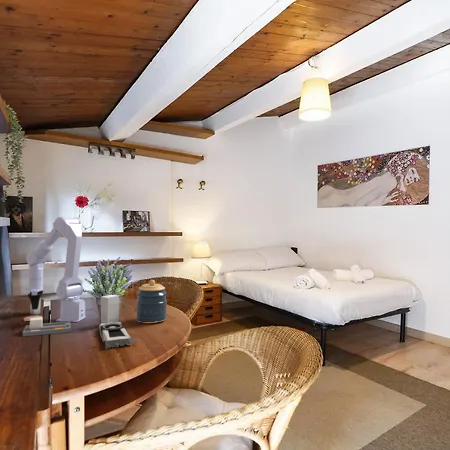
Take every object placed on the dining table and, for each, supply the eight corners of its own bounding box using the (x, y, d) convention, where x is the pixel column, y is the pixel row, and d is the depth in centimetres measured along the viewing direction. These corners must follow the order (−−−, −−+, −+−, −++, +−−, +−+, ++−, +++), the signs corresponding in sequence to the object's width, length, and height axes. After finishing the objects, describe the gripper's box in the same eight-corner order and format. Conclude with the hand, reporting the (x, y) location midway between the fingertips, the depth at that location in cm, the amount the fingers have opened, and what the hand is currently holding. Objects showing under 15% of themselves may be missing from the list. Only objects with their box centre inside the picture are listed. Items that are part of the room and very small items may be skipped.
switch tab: (29, 329, 135) (29, 320, 135) (30, 326, 138) (30, 318, 138) (41, 328, 136) (41, 319, 136) (42, 325, 140) (42, 317, 140)
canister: (144, 326, 147) (145, 283, 147) (130, 319, 157) (131, 279, 157) (172, 321, 156) (172, 280, 156) (157, 315, 166) (158, 276, 166)
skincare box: (111, 322, 152) (112, 294, 152) (118, 324, 150) (119, 295, 150) (100, 325, 147) (100, 296, 147) (107, 327, 145) (107, 297, 145)
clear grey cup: (42, 312, 167) (42, 295, 167) (37, 314, 163) (37, 297, 163) (33, 312, 167) (34, 295, 167) (28, 314, 163) (28, 296, 163)
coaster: (45, 317, 158) (45, 315, 158) (36, 322, 151) (36, 320, 151) (30, 317, 158) (30, 315, 158) (20, 321, 151) (20, 319, 151)
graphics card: (105, 341, 119) (98, 322, 142) (105, 351, 119) (98, 330, 142) (136, 337, 123) (124, 319, 146) (136, 347, 123) (124, 328, 146)
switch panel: (22, 336, 131) (22, 330, 131) (25, 329, 140) (25, 324, 140) (70, 332, 138) (70, 326, 138) (70, 326, 146) (70, 320, 146)
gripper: (28, 276, 170) (27, 305, 170) (24, 281, 157) (23, 312, 157) (44, 276, 173) (44, 304, 173) (42, 280, 159) (41, 311, 159)
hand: (35, 308), depth 165 cm, fingers closed on clear grey cup, 4 cm apart
